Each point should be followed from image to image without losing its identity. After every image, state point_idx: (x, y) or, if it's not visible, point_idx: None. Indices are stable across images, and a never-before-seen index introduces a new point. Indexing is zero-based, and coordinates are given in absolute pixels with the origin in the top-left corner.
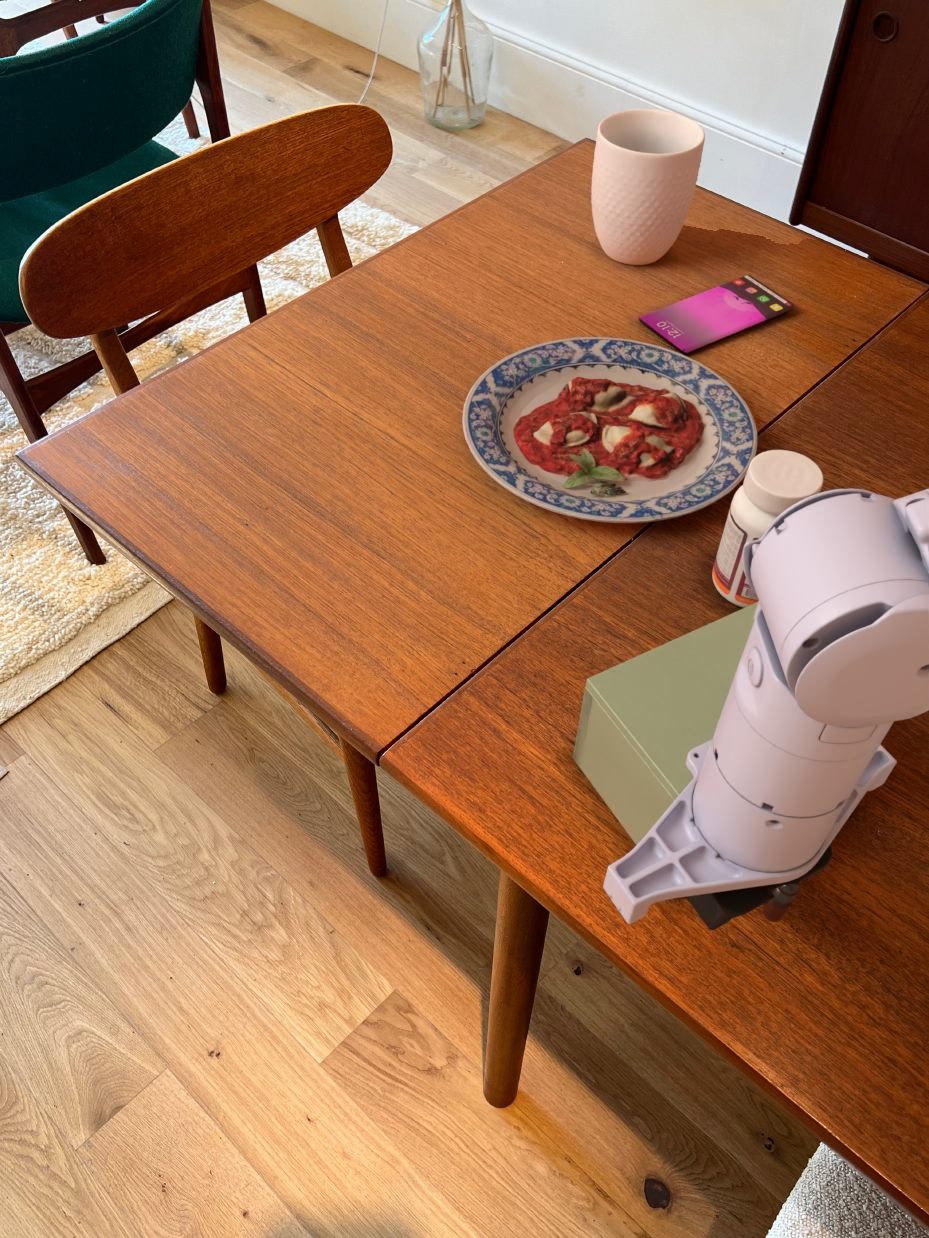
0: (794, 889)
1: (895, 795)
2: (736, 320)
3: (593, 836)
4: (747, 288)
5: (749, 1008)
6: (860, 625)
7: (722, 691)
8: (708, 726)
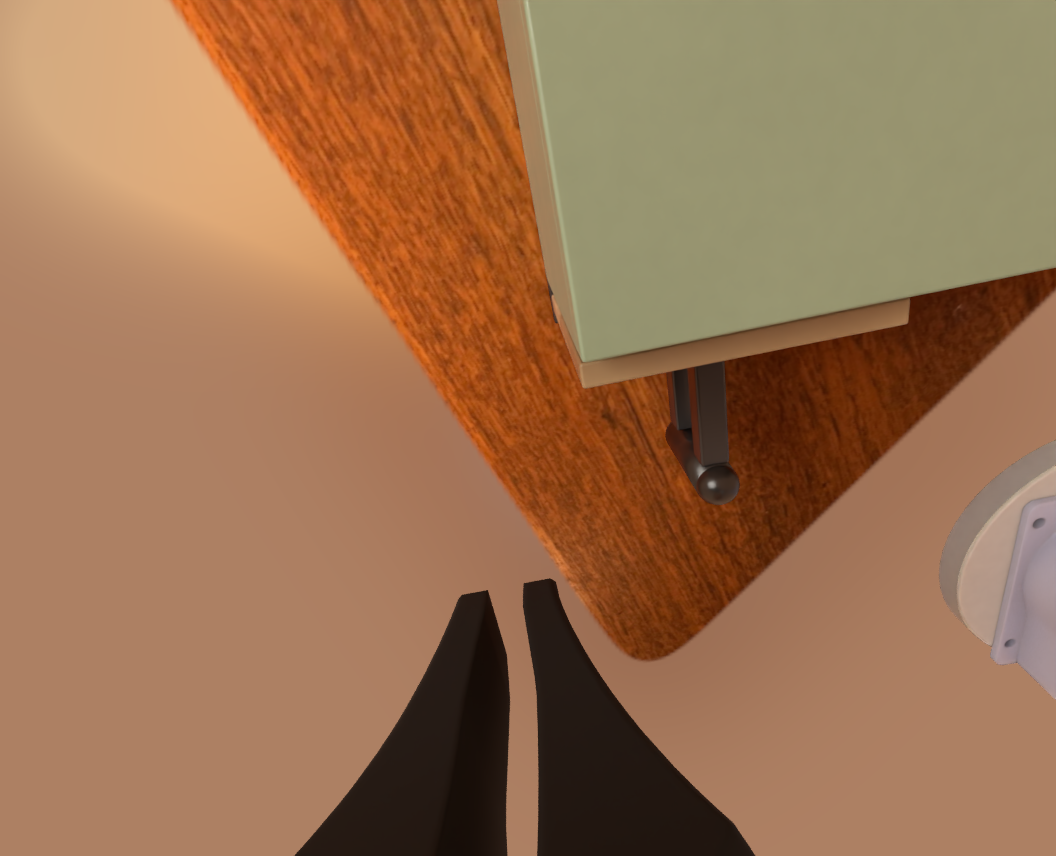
0: (721, 503)
1: None
2: None
3: (456, 147)
4: None
5: (579, 497)
6: None
7: None
8: (808, 105)
